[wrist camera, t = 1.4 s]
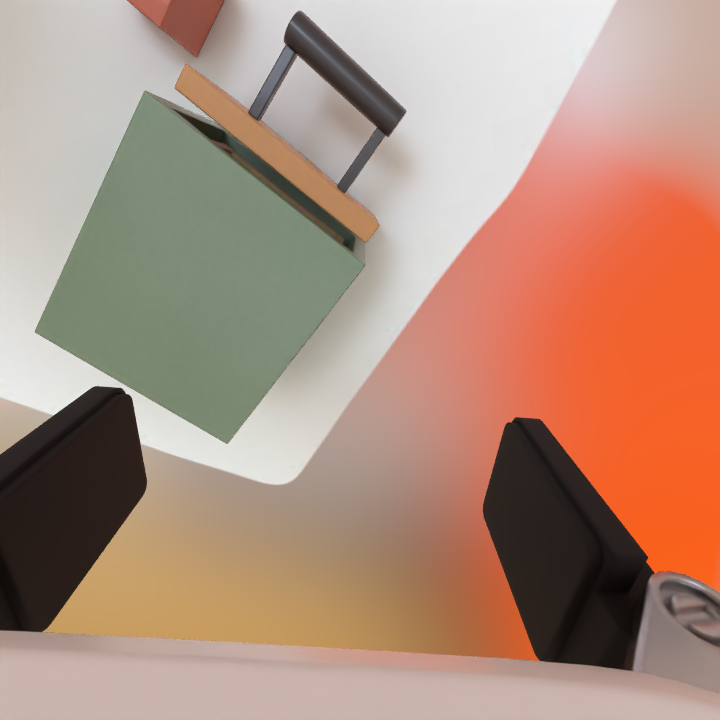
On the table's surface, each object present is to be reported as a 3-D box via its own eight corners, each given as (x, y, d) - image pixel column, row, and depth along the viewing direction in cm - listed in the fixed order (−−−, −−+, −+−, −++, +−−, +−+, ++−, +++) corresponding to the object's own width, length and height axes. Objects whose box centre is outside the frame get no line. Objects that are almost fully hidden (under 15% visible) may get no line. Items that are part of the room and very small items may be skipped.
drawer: (281, 16, 23) (245, -63, 16) (424, 149, 26) (448, 133, 19) (145, 266, 29) (75, 291, 22) (273, 352, 32) (248, 399, 25)
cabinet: (217, 123, 26) (144, 89, 17) (364, 242, 30) (365, 265, 21) (127, 291, 31) (33, 332, 22) (262, 378, 34) (227, 444, 25)
